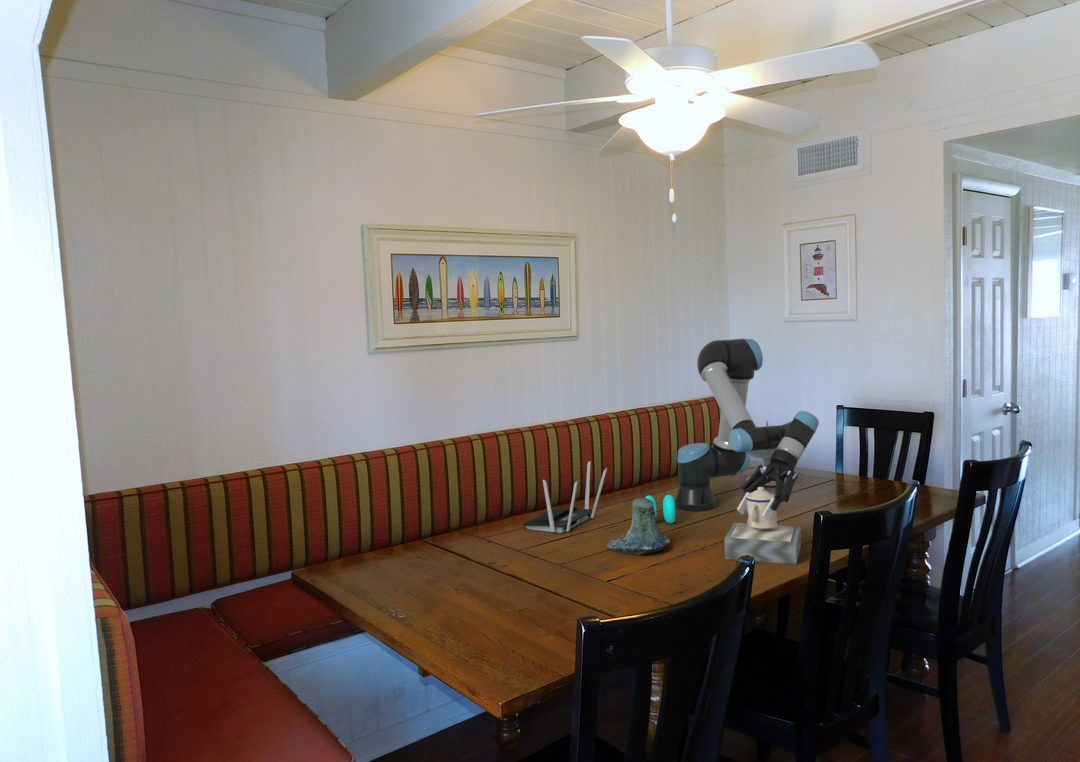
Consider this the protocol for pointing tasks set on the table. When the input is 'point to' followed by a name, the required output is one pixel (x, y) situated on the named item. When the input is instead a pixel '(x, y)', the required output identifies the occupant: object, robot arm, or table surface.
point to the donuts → (666, 507)
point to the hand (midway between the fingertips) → (752, 515)
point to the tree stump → (641, 532)
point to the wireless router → (565, 511)
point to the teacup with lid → (759, 509)
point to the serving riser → (764, 543)
